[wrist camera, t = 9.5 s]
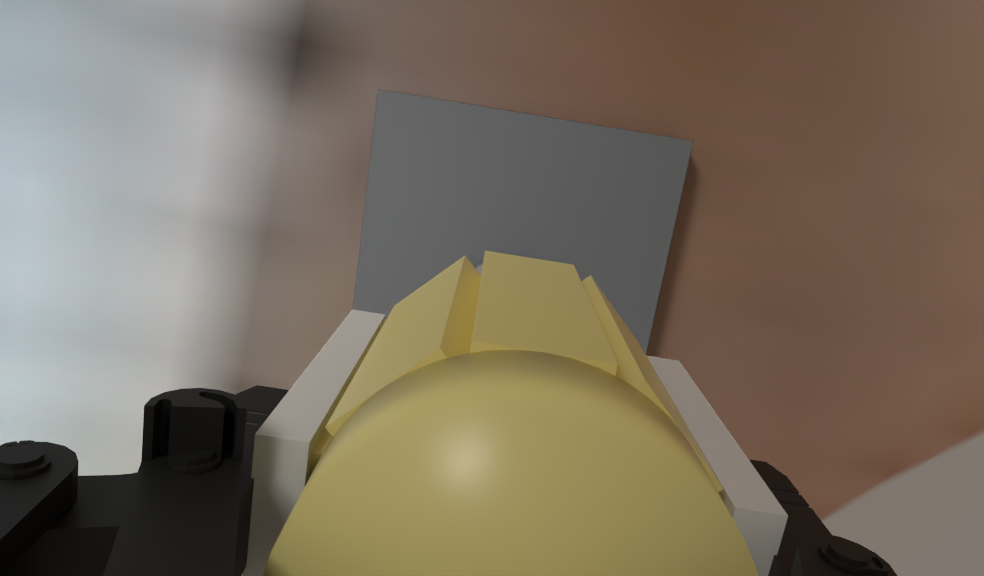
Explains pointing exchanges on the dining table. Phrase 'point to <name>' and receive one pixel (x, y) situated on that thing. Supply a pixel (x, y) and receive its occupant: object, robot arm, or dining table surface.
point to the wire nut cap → (508, 445)
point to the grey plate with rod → (516, 200)
